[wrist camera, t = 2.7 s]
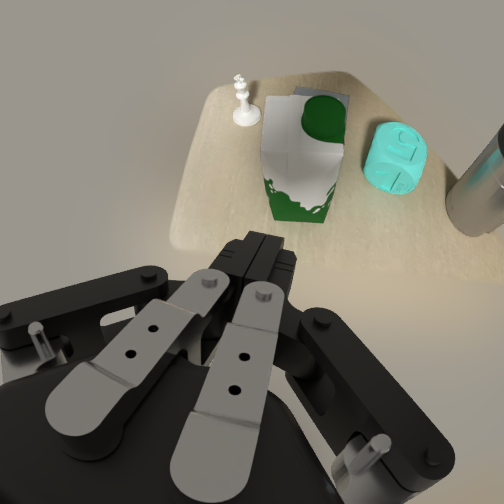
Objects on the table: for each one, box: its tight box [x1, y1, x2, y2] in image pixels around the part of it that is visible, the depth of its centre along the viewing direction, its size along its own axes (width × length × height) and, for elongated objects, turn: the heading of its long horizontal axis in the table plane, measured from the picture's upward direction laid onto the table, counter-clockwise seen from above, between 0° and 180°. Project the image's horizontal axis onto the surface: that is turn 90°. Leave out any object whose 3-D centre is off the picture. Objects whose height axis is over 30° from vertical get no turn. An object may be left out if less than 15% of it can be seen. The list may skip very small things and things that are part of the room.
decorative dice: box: [363, 122, 428, 194], centre depth 42 cm, size 8×8×8 cm
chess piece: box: [233, 75, 261, 126], centre depth 47 cm, size 5×5×10 cm
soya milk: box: [260, 95, 346, 223], centre depth 36 cm, size 9×9×20 cm
